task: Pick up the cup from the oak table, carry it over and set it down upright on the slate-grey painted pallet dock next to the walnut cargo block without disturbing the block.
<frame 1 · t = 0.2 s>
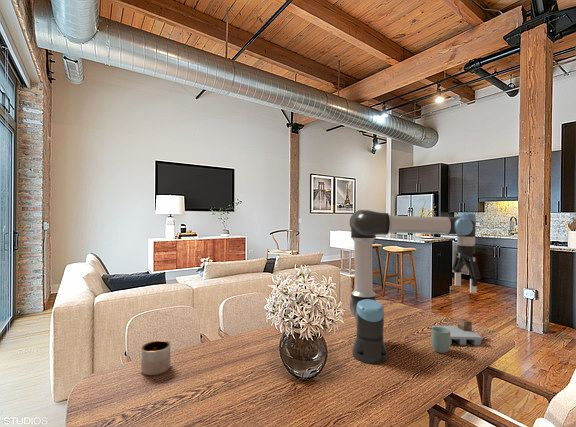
hand: (465, 289, 150), 27 cm above the table, fingers open, 13 cm apart
cargo block: (464, 329, 160), point 4 cm above the table, touching dock
dock: (455, 338, 157), on the table
cup: (440, 351, 144), on the table
planter: (156, 369, 125), on the table
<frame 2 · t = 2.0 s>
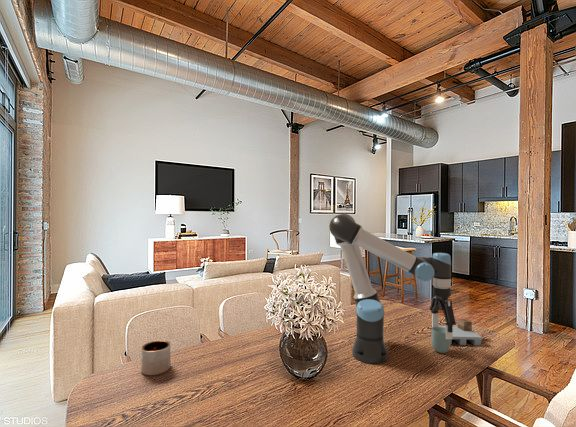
hand: (441, 332, 143), 9 cm above the table, fingers open, 13 cm apart
nothing on the table moved.
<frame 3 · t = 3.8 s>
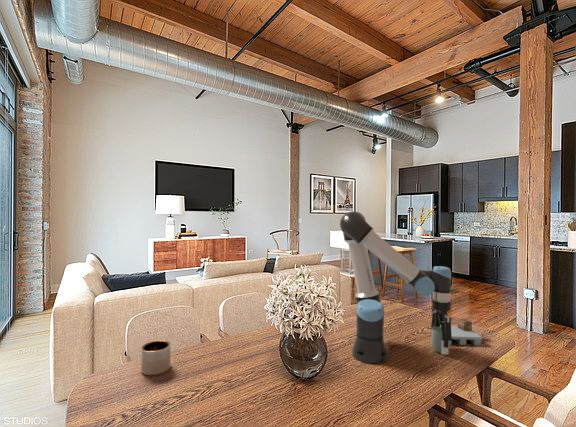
hand: (440, 349, 144), 1 cm above the table, fingers closed on cup, 8 cm apart
cup: (440, 351, 144), on the table, touching gripper
everything else where it was.
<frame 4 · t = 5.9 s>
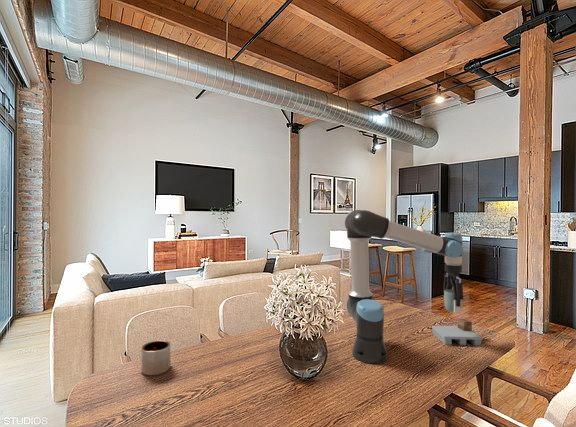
hand: (452, 309, 155), 16 cm above the table, fingers closed on cup, 8 cm apart
cup: (452, 311, 155), point 15 cm above the table, touching gripper
everything else where it was.
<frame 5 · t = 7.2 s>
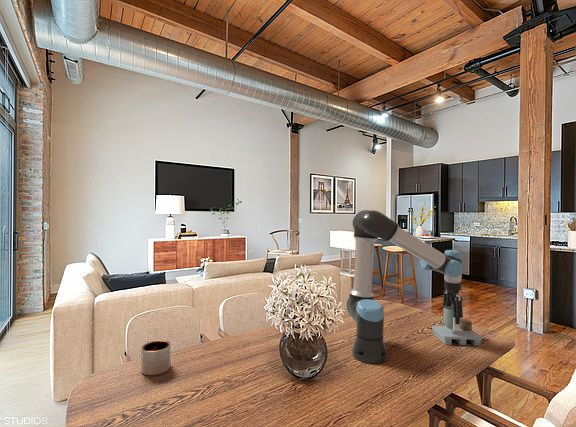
hand: (452, 326, 155), 7 cm above the table, fingers closed on cup, 8 cm apart
cup: (452, 328, 155), point 6 cm above the table, touching gripper
everything else where it was.
when the fingers open (6 cm above the table, at t = 8.1 s): cup drops 1 cm, resting on dock.
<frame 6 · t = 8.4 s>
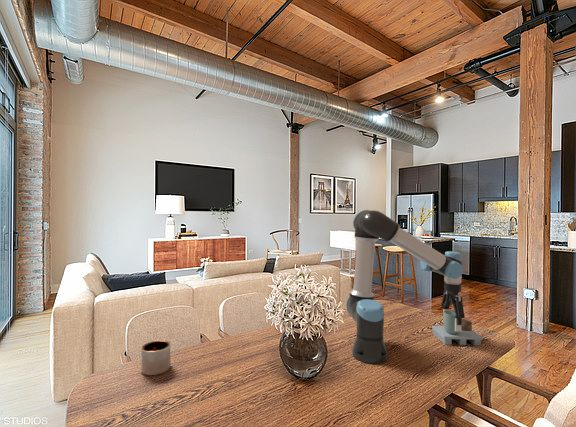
hand: (451, 326, 155), 7 cm above the table, fingers open, 11 cm apart
cup: (451, 333, 155), point 4 cm above the table, touching dock
everything else where it was.
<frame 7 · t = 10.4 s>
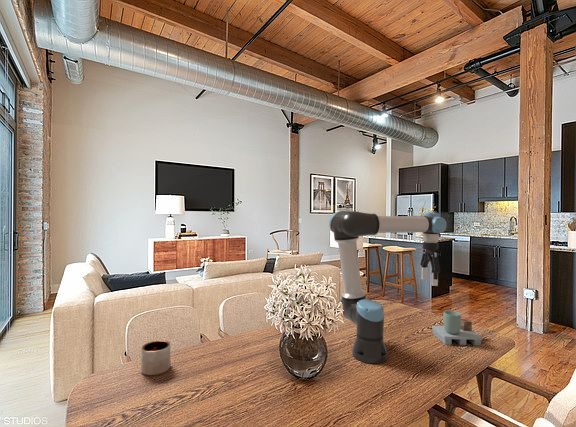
hand: (429, 282, 162), 27 cm above the table, fingers open, 13 cm apart
nothing on the table moved.
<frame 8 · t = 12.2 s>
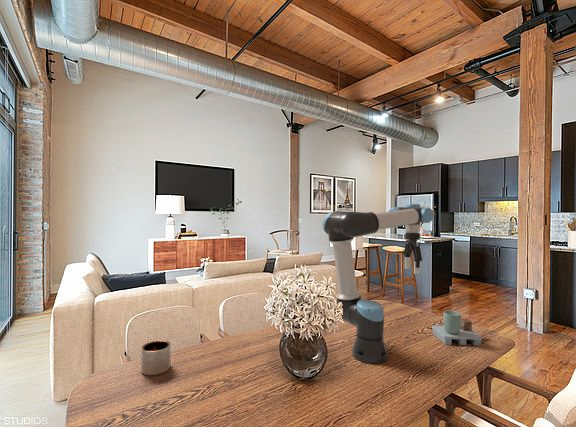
hand: (412, 271, 169), 32 cm above the table, fingers open, 13 cm apart
nothing on the table moved.
at the end: cup inside the target area on the dock (3.7 cm from its centre), point 3.8 cm above the dock's base; cup tilted 0°; cargo block moved 0.0 cm from its start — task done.
